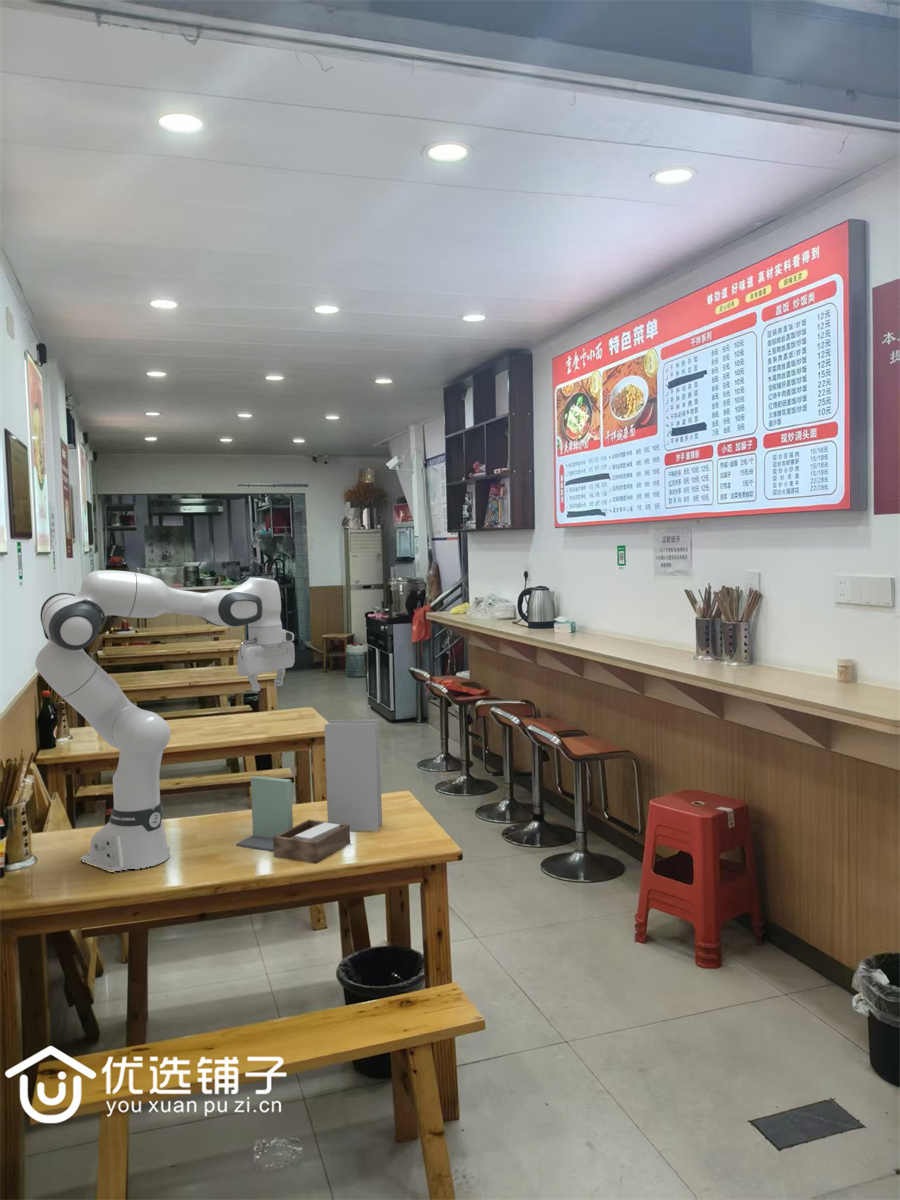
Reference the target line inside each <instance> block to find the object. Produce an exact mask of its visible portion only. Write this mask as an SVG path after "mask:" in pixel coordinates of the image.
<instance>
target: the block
mask: <svg viewBox="0 0 900 1200" xmlns="http://www.w3.org/2000/svg"><path fill="white" fill-rule="evenodd" d="M292 791H293V790H292V779H289V778H279V777H271V776H270V777H269V776H260V775H254V776H251V777H250V792H251V793H250V794H251V797H250V798H251V818H252V836H259V837H266V838H273V837H275V836H277V835H279V834H281V833H283V832H285V831H287V830H289V829H291V828H293V827H294V822H293V821H294V819H293V817H294V816H293V814H294V813H293V796H292V795H293V794H292V793H293V792H292Z"/></svg>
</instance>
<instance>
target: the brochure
mask: <svg viewBox="0 0 900 1200" xmlns="http://www.w3.org/2000/svg"><path fill="white" fill-rule="evenodd" d="M323 727H324V728H323V729H324V749H325V751H324V752H325V753H324V754H325V756H324V757H325V778H326V779H325V780H326V783H325V784H326V804H327V806H326V811H327V822H332V823H339V824H347V825H350V831H379V832H380V828H379V827H380V826H379V825H382V826H383V810H382V782H381V779H382V776H381V774H382V773H381V748H380V747H381V746H380V745H381V744H380V720H379V719H337V720H336V719H329V720H328V723H324V726H323Z"/></svg>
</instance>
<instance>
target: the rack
mask: <svg viewBox="0 0 900 1200" xmlns="http://www.w3.org/2000/svg"><path fill="white" fill-rule="evenodd" d="M325 822H326V823H332V822H328V821H326V820H325V821H323V820H316V819H308V820H305V821H303V822H301V823H299V824H297V825H295V826H293V828H291V829H289V830H287V831H285V832H283V833H281V834H279V835H277V836H275V837H273V842H274V851H273V857H276V858H281V859H282V858H283V859H289V860H295V861H300V860H301V862H306V861H308V862H307V863H312V862H314V863H313V864H317V862H318V863H320V862H321V861H323V860H325V859H326V858H327V856H328V857H330V856H331V855H333V854H335V853H337V852H338V851H340V850H342V849H343V848H345V847H347V846H348V844H349V845H350V844H351V832H350V825H347V824H339V823H332V824H338V825H340V828H339V829H337V830H335V831H333V832H332V833H330V834H328V835H326V836H324V837H322V838H321V839H319V840H317V841H315V842H314V841H307V840H300V839H295V835H297V834H300V833H302V832H304V831H306V830H309V829H311V828H313V827H316V826H318V825H320V824H323V823H325ZM346 845H347V846H346ZM341 848H342V849H341ZM339 849H340V850H339ZM337 850H338V851H337ZM336 851H337V852H336ZM334 852H335V853H334ZM329 855H330V856H329ZM324 858H325V859H324ZM322 859H323V860H322Z"/></svg>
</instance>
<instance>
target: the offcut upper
mask: <svg viewBox="0 0 900 1200" xmlns="http://www.w3.org/2000/svg"><path fill="white" fill-rule="evenodd" d="M326 822H327V821H325V823H323V824H320V825H318V826H316V827H313V828H311V829H309V830H306V831H304V832H302V833H300V834H297V835H295V839H300V840H307V841H314V842H315V841H317V840H319V839H321V838H322V837H324V836H326V835H328V834H330V833H332V832H333V831H335V830H337V829H339V828H340V825H338V824H332V823H326Z"/></svg>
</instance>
